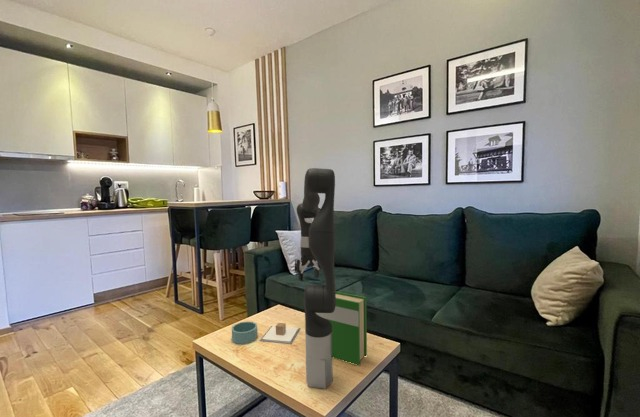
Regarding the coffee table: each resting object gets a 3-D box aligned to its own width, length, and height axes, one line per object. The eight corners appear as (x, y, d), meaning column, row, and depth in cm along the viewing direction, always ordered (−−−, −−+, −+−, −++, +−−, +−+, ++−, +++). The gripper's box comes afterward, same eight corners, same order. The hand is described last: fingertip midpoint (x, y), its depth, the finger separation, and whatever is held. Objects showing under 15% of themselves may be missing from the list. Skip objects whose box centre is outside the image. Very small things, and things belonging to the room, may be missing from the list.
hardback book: (366, 356, 115) (366, 297, 114) (359, 366, 109) (358, 303, 107) (328, 344, 124) (327, 289, 123) (319, 353, 118) (318, 295, 117)
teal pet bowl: (250, 346, 124) (250, 333, 124) (227, 344, 126) (227, 331, 126) (261, 334, 135) (260, 322, 134) (239, 332, 137) (239, 320, 137)
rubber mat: (291, 345, 124) (291, 344, 124) (259, 342, 127) (259, 341, 127) (301, 329, 139) (300, 328, 139) (271, 326, 142) (271, 325, 142)
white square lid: (290, 342, 126) (289, 332, 125) (262, 340, 128) (261, 330, 128) (298, 329, 138) (298, 319, 138) (272, 327, 141) (272, 317, 141)
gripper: (299, 248, 130) (300, 283, 130) (325, 244, 138) (325, 278, 139) (291, 246, 136) (292, 280, 137) (316, 242, 144) (316, 275, 145)
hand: (309, 279), depth 138 cm, fingers open, 8 cm apart
